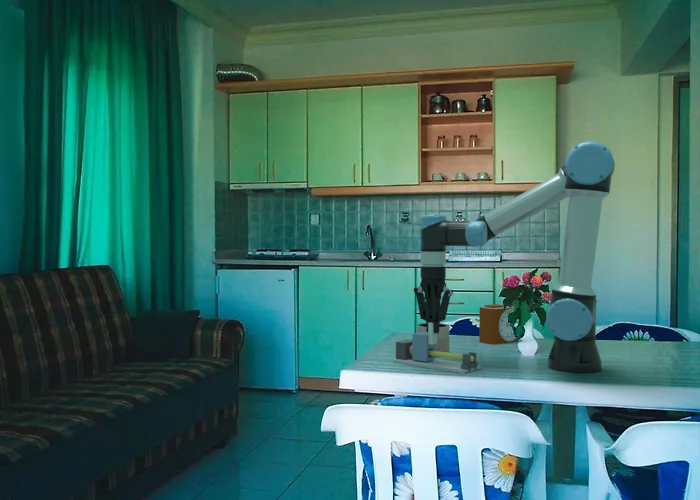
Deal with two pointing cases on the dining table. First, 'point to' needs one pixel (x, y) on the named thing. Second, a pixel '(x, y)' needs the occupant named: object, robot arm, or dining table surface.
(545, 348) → the dining table surface
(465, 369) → the sliding block rail
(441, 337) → the planter
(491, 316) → the alarm clock
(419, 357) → the sleeve
